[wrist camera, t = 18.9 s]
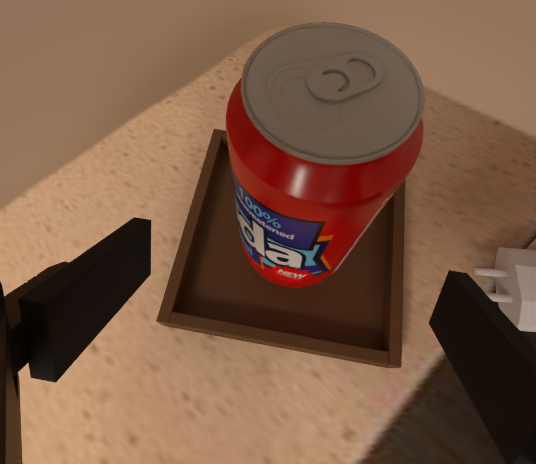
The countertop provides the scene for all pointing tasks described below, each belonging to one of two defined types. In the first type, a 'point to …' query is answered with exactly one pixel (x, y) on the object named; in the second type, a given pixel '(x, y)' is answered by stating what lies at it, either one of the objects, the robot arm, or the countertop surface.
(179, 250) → the rectangular tray
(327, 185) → the soda can
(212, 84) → the countertop surface
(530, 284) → the charger
